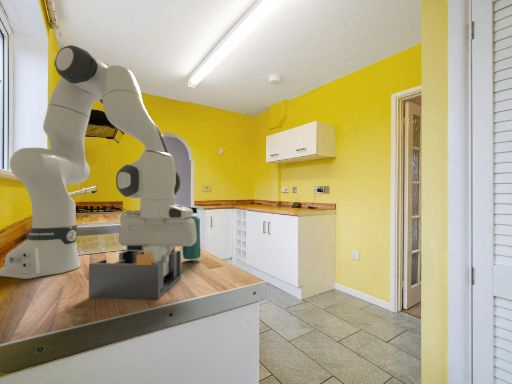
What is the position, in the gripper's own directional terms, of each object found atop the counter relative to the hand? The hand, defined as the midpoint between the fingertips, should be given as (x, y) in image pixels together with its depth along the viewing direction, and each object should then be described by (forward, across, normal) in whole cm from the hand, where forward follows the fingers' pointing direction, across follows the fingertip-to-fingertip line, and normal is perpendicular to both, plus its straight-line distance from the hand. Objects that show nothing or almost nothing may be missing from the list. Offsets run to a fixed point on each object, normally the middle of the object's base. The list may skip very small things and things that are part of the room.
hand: (157, 262), depth 65 cm
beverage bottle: (+7, +1, +25) cm, 26 cm away
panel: (+4, 0, 0) cm, 4 cm away
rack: (+7, -5, 0) cm, 8 cm away
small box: (+7, -19, +28) cm, 34 cm away
